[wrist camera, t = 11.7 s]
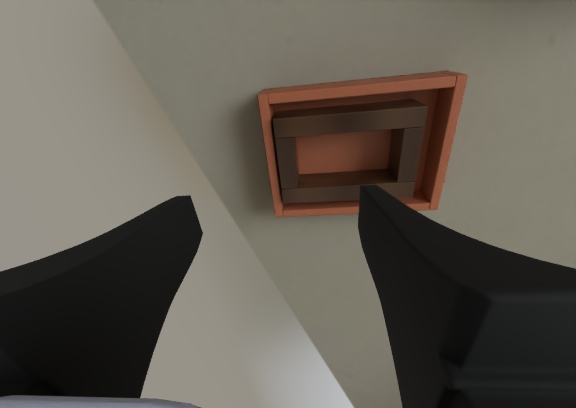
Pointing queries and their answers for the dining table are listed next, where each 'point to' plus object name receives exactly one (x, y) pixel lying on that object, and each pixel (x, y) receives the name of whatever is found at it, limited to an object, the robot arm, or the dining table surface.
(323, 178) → the frame
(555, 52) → the dining table surface
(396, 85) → the holder
